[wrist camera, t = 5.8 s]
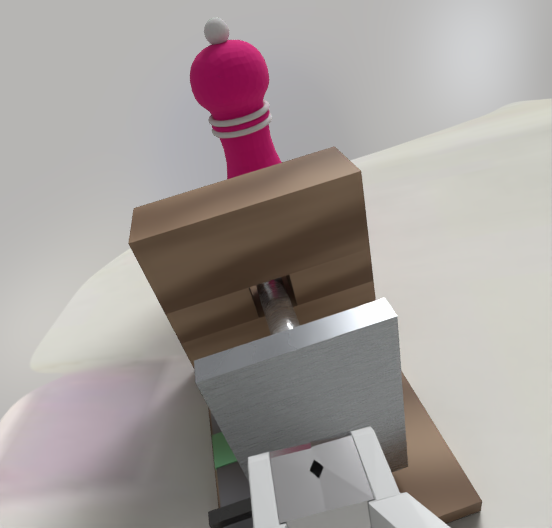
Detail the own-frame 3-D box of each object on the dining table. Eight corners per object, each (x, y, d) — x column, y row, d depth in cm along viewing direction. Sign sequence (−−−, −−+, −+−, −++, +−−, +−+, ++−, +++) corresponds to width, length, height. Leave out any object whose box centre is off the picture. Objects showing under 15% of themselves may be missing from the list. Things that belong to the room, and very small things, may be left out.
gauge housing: (480, 510, 19) (509, 308, 12) (233, 600, 19) (98, 446, 11) (358, 308, 31) (334, 146, 24) (206, 358, 31) (133, 208, 23)
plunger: (408, 466, 20) (397, 315, 14) (213, 535, 19) (118, 409, 13) (327, 308, 29) (301, 181, 24) (197, 351, 29) (138, 231, 23)
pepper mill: (326, 236, 40) (283, -2, 29) (277, 278, 37) (205, 26, 25) (274, 220, 45) (218, 11, 33) (225, 257, 41) (144, 36, 30)
